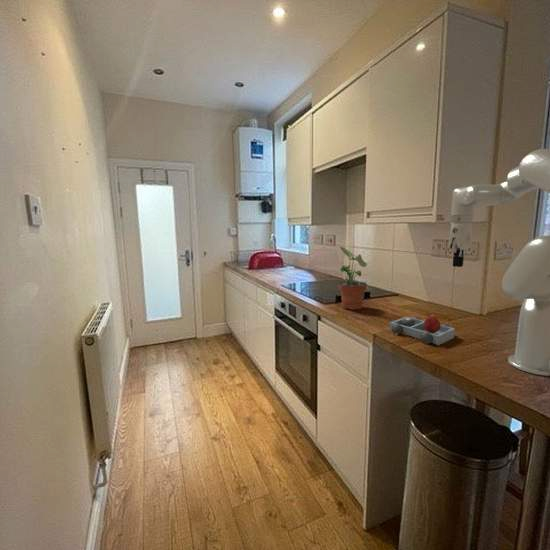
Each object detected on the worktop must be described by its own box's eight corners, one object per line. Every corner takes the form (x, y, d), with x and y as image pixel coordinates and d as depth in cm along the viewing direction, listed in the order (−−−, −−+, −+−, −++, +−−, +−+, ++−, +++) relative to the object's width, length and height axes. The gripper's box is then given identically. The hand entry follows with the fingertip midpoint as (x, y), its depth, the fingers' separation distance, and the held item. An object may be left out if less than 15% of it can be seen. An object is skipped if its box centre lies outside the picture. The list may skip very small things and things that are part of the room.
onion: (429, 337, 116) (431, 317, 115) (419, 332, 122) (421, 313, 121) (443, 336, 118) (444, 316, 116) (432, 331, 123) (434, 312, 122)
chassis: (456, 336, 120) (457, 326, 120) (435, 347, 110) (436, 336, 110) (408, 323, 136) (409, 315, 135) (386, 332, 126) (387, 322, 126)
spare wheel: (416, 324, 127) (417, 319, 126) (410, 327, 124) (411, 321, 123) (406, 322, 130) (406, 316, 130) (399, 324, 128) (400, 318, 127)
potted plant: (337, 311, 156) (338, 243, 151) (338, 303, 171) (339, 241, 165) (368, 313, 153) (371, 243, 147) (367, 305, 167) (369, 241, 161)
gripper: (463, 220, 112) (459, 269, 115) (480, 219, 120) (475, 265, 123) (442, 220, 118) (439, 267, 121) (459, 220, 126) (456, 263, 129)
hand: (457, 266), depth 122 cm, fingers closed
